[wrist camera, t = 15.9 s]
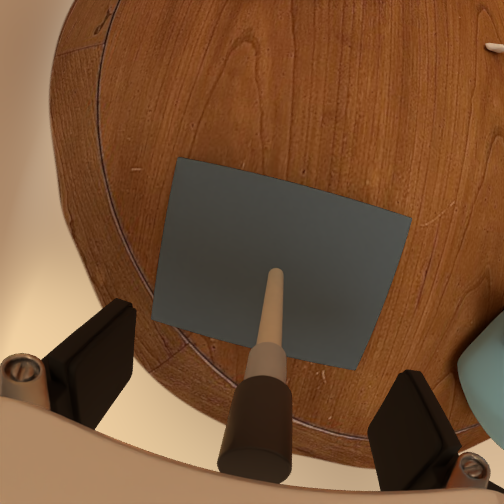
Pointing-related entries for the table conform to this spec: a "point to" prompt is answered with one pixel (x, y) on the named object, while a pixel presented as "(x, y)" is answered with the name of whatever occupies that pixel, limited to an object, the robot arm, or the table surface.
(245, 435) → the brush
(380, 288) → the mat
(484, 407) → the teapot
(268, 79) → the table surface
